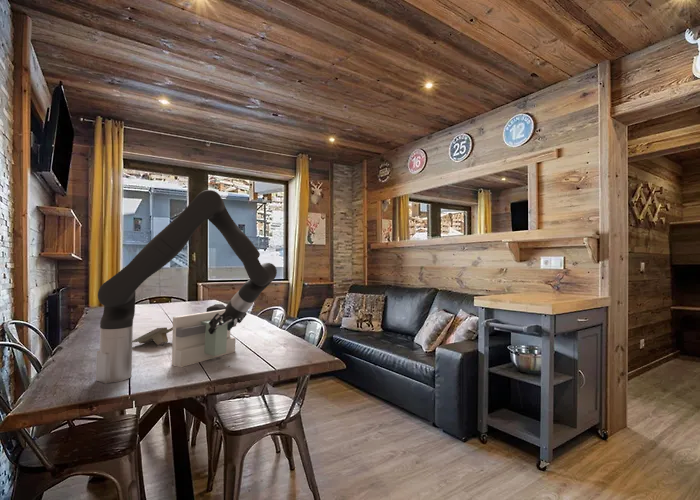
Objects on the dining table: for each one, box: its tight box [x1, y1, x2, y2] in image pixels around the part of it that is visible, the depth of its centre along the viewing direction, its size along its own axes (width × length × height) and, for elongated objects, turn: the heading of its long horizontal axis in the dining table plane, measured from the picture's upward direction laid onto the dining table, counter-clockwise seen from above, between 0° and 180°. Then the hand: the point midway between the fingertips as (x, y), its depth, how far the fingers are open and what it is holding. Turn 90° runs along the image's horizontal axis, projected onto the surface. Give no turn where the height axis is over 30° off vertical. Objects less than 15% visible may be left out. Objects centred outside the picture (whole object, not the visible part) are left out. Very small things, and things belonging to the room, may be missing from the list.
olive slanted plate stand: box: [132, 326, 173, 346], centre depth 167 cm, size 16×9×15 cm
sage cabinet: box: [201, 320, 228, 356], centre depth 145 cm, size 6×9×12 cm, turn 60°
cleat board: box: [171, 309, 237, 368], centre depth 147 cm, size 26×6×18 cm, turn 150°
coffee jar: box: [206, 303, 226, 312], centre depth 169 cm, size 10×8×19 cm
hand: (219, 330), depth 143 cm, fingers open, 8 cm apart
